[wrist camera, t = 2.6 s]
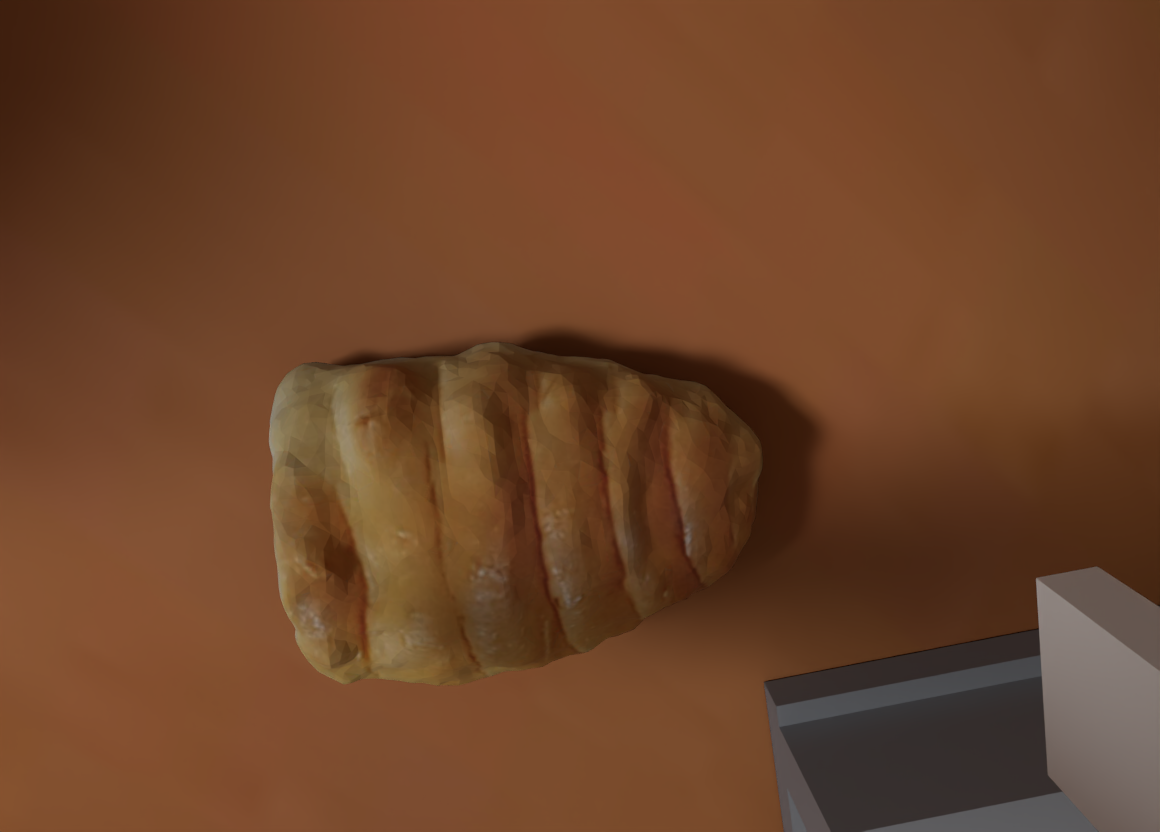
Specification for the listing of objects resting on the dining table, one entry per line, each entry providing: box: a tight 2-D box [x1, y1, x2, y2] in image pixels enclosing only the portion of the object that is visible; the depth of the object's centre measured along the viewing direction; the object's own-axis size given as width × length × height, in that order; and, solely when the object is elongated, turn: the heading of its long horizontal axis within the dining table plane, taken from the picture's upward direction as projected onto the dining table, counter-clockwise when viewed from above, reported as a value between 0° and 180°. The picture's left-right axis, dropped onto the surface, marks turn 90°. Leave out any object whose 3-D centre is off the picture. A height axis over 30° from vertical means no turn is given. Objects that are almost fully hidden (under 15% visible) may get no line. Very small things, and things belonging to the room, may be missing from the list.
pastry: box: [269, 342, 763, 686], centre depth 18 cm, size 9×7×4 cm
